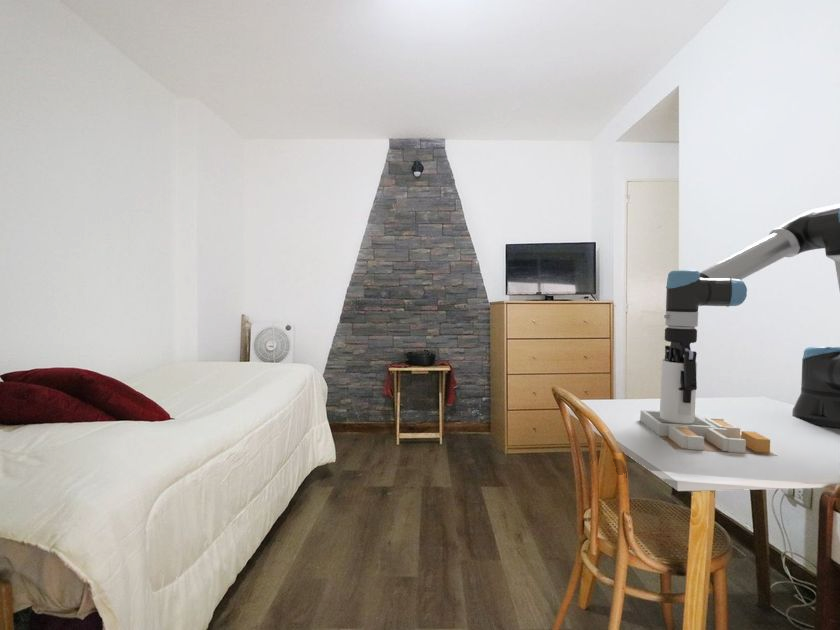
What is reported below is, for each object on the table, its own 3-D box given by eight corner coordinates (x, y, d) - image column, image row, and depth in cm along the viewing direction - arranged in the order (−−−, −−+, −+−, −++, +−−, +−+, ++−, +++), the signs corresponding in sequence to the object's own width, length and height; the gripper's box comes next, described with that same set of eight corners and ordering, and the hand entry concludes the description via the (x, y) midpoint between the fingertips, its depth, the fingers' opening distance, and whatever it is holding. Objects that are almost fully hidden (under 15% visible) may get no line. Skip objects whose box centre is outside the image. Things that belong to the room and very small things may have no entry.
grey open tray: (724, 440, 111) (725, 428, 111) (745, 452, 102) (745, 440, 102) (705, 438, 111) (706, 427, 111) (724, 451, 103) (724, 438, 102)
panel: (722, 428, 124) (722, 424, 124) (777, 460, 100) (777, 455, 100) (640, 424, 127) (640, 420, 127) (674, 453, 104) (674, 448, 104)
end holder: (691, 423, 125) (692, 412, 125) (717, 439, 111) (717, 427, 111) (640, 420, 127) (640, 409, 127) (658, 435, 114) (659, 424, 113)
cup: (699, 424, 114) (702, 364, 114) (665, 422, 116) (668, 362, 115) (687, 415, 122) (689, 359, 122) (655, 413, 124) (657, 358, 123)
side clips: (721, 429, 120) (721, 418, 120) (764, 454, 101) (764, 441, 101) (653, 425, 123) (653, 414, 122) (683, 448, 104) (683, 436, 104)
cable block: (754, 443, 108) (754, 431, 108) (769, 452, 102) (770, 439, 102) (741, 442, 109) (741, 431, 109) (755, 451, 103) (756, 439, 103)
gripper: (651, 324, 129) (648, 400, 130) (683, 330, 108) (679, 420, 109) (679, 325, 128) (675, 401, 129) (715, 331, 107) (711, 421, 108)
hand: (677, 409), depth 119 cm, fingers closed on cup, 8 cm apart
